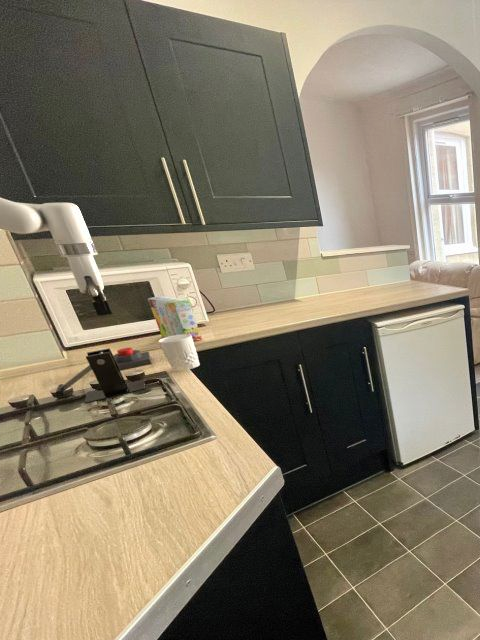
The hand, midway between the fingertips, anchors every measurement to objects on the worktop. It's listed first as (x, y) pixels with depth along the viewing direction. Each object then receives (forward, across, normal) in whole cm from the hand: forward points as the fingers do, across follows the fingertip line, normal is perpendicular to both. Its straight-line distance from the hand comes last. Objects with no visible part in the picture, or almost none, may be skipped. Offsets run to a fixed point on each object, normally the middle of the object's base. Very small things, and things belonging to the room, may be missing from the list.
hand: (105, 314), depth 125 cm
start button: (+13, 0, +1) cm, 13 cm away
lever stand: (+17, +27, -2) cm, 32 cm away
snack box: (+17, -25, +16) cm, 34 cm away
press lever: (+11, +27, -6) cm, 29 cm away
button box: (+17, 0, +1) cm, 17 cm away
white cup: (+17, +19, +14) cm, 29 cm away
